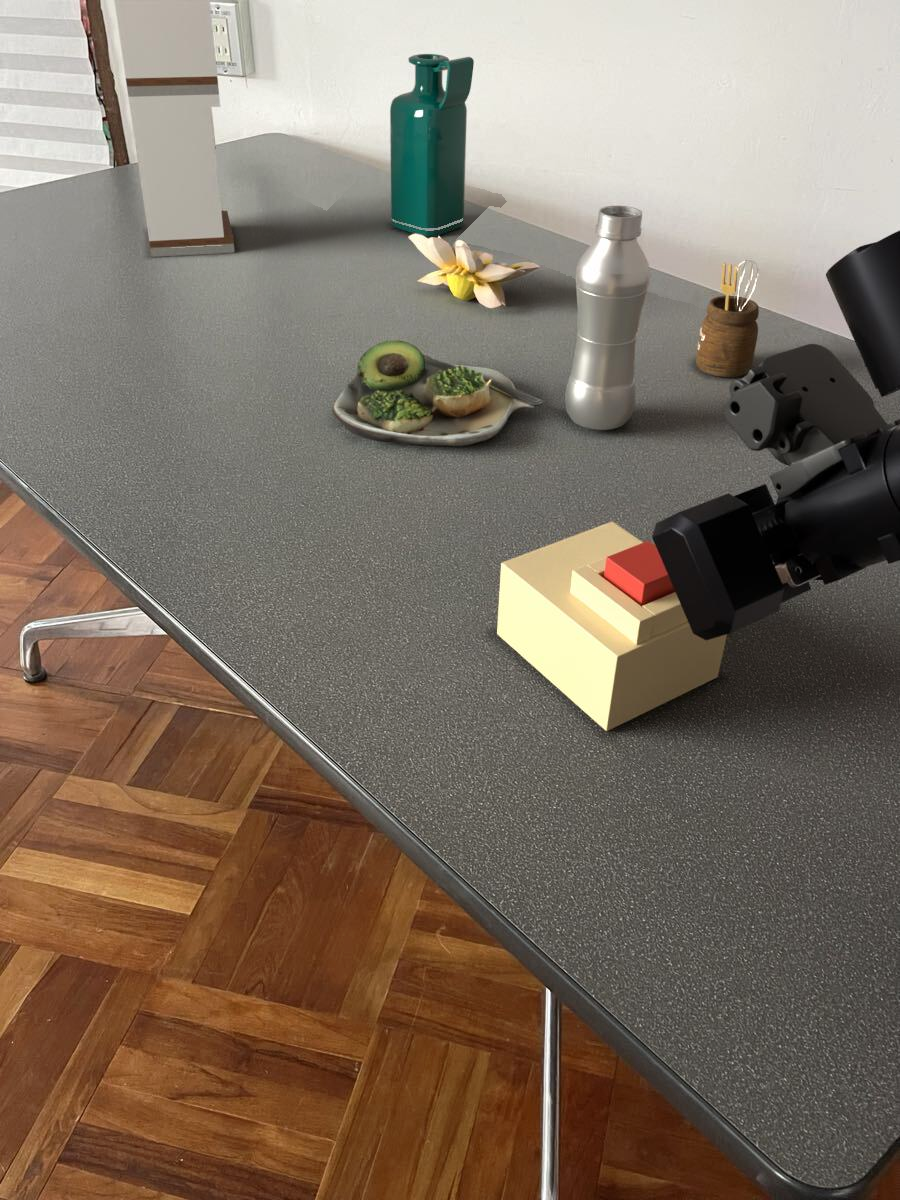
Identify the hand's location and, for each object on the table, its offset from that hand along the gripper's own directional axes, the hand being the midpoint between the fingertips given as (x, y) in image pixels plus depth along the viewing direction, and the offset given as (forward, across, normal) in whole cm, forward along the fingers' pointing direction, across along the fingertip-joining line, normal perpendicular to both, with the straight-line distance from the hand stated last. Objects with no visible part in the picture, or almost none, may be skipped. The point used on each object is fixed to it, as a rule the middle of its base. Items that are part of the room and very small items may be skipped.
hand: (715, 565), depth 62 cm
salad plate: (+42, -10, -25) cm, 49 cm away
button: (+7, 0, -1) cm, 7 cm away
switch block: (+14, 0, +3) cm, 15 cm away
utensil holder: (+36, -42, -18) cm, 59 cm away
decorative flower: (+57, -32, -40) cm, 77 cm away
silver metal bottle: (+34, -23, -16) cm, 44 cm away
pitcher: (+75, -42, -58) cm, 104 cm away
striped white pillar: (+83, -11, -66) cm, 107 cm away
